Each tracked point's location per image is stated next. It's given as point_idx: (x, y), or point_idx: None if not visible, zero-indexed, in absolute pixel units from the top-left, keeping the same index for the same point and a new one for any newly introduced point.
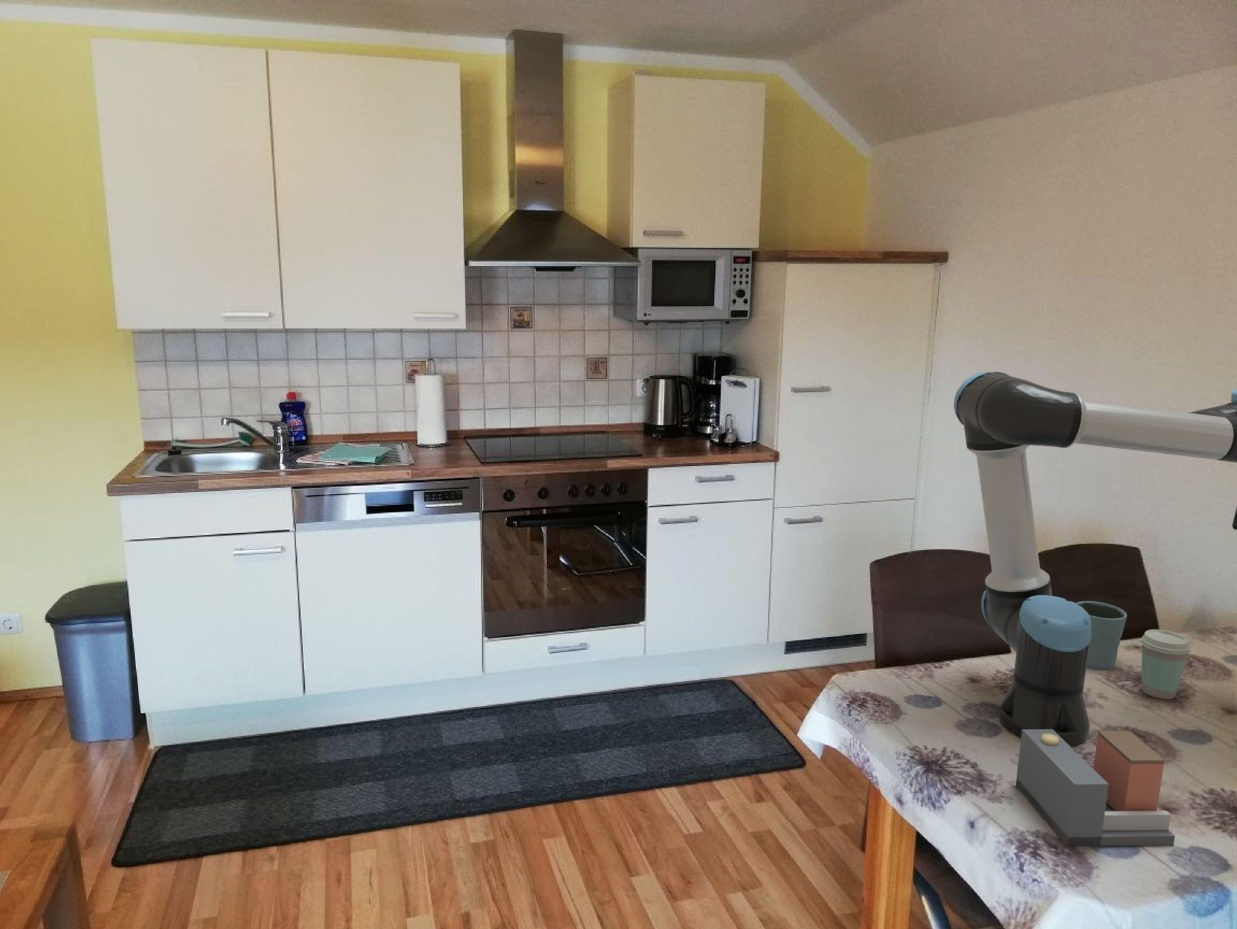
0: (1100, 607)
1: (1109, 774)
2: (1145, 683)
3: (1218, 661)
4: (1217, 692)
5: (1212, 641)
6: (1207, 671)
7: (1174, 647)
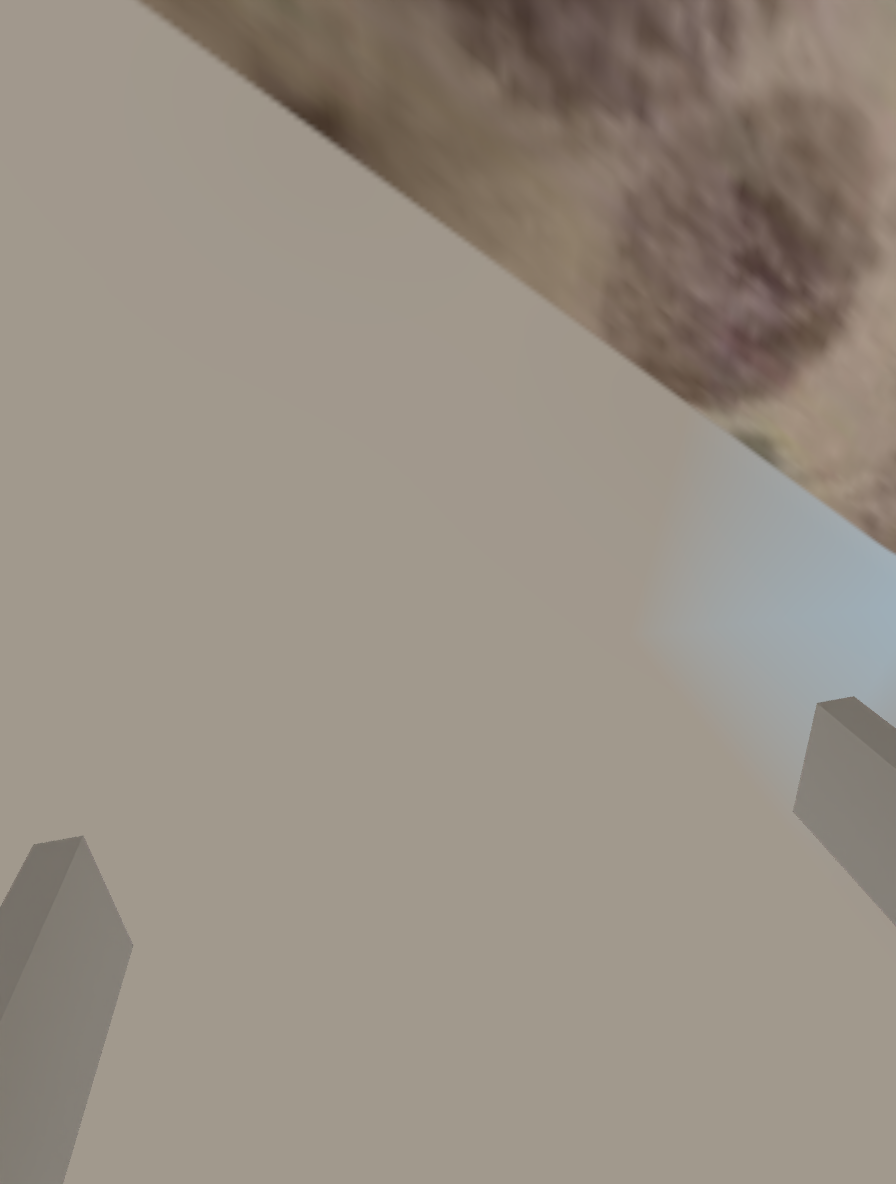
0: None
1: None
2: None
3: (747, 409)
4: (498, 214)
5: (882, 486)
6: (685, 307)
7: None
